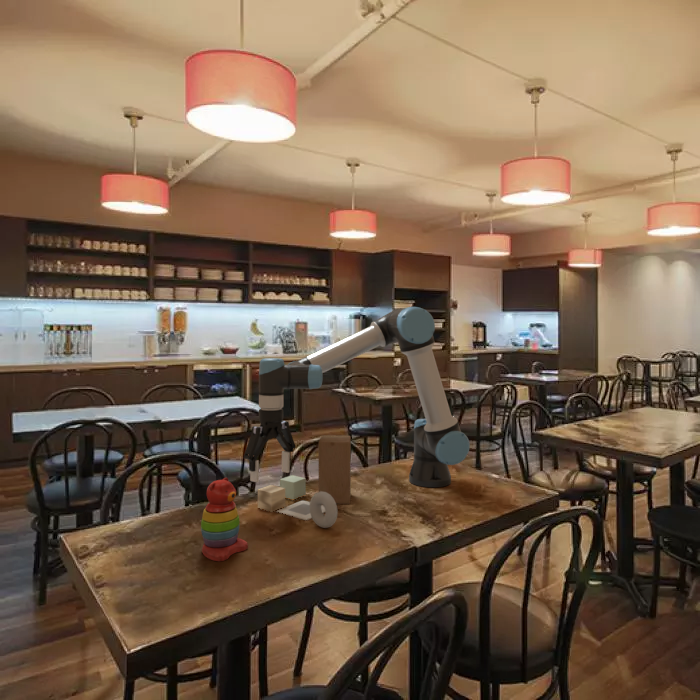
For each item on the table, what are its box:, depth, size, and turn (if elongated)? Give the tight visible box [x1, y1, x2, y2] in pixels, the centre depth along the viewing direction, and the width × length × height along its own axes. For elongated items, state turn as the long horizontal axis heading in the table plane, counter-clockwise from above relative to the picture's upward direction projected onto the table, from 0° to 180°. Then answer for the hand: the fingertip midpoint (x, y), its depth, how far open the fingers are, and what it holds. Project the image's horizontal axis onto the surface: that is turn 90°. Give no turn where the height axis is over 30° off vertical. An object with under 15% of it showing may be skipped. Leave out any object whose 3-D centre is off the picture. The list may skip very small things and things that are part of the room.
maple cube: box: [257, 484, 286, 513], centre depth 162 cm, size 6×6×6 cm
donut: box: [309, 491, 339, 529], centre depth 146 cm, size 10×4×10 cm, turn 46°
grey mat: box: [276, 500, 326, 521], centre depth 160 cm, size 12×12×1 cm
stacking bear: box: [200, 477, 249, 562], centre depth 131 cm, size 11×10×18 cm
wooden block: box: [318, 434, 352, 505], centre depth 170 cm, size 10×10×20 cm
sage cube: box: [279, 474, 307, 500], centre depth 173 cm, size 6×6×6 cm
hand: (270, 476), depth 162 cm, fingers open, 13 cm apart
